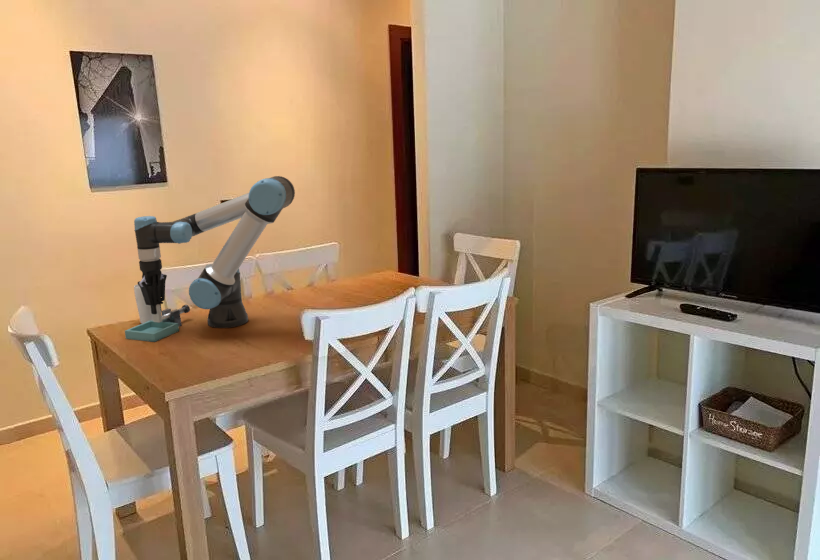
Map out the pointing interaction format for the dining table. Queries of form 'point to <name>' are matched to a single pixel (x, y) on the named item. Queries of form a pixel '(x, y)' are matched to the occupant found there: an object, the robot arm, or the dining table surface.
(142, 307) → the drinking glass
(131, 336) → the teal square tray
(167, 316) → the lock pin
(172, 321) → the pin mount
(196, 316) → the dining table surface
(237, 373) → the dining table surface
